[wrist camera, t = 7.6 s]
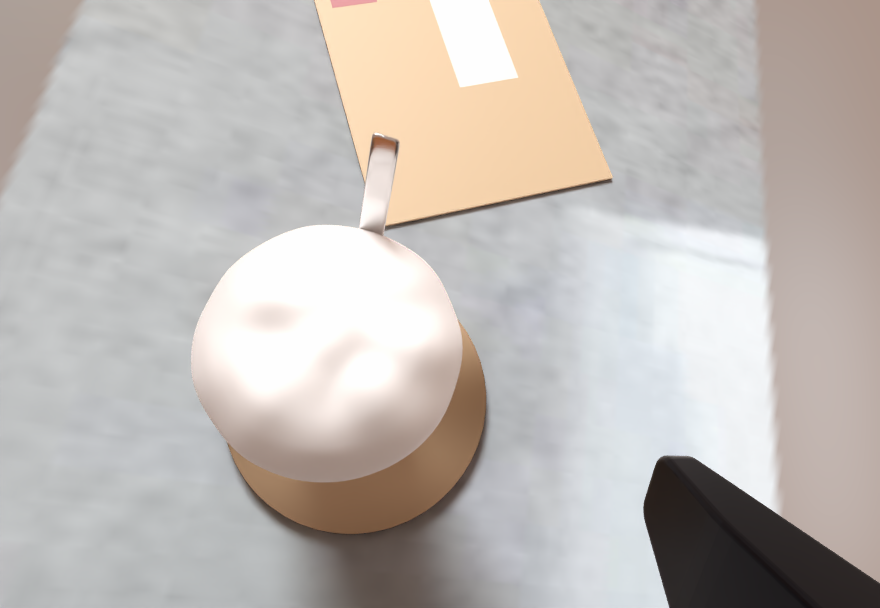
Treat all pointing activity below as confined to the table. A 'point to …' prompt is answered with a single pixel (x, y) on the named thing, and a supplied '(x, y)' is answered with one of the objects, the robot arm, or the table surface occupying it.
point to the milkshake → (329, 346)
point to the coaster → (387, 470)
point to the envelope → (460, 100)
